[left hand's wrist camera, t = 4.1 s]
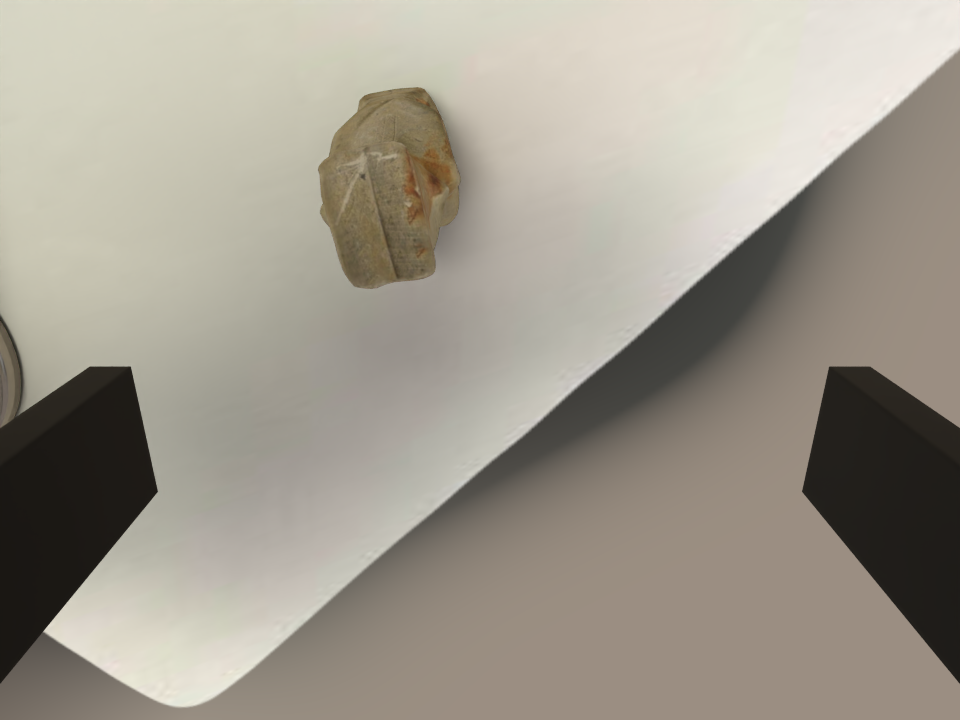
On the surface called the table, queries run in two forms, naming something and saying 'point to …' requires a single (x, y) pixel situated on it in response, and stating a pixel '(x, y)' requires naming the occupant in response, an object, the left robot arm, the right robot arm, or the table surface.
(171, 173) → the table surface
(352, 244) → the sculpture
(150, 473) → the left robot arm
